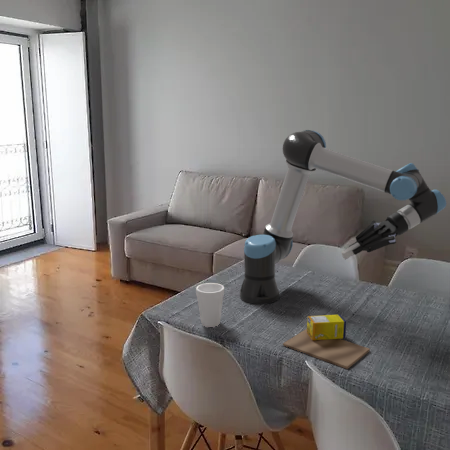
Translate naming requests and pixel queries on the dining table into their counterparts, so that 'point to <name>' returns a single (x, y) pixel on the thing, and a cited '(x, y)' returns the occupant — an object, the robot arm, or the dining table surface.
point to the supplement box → (326, 327)
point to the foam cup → (210, 303)
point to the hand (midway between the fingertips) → (343, 255)
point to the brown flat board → (328, 349)
